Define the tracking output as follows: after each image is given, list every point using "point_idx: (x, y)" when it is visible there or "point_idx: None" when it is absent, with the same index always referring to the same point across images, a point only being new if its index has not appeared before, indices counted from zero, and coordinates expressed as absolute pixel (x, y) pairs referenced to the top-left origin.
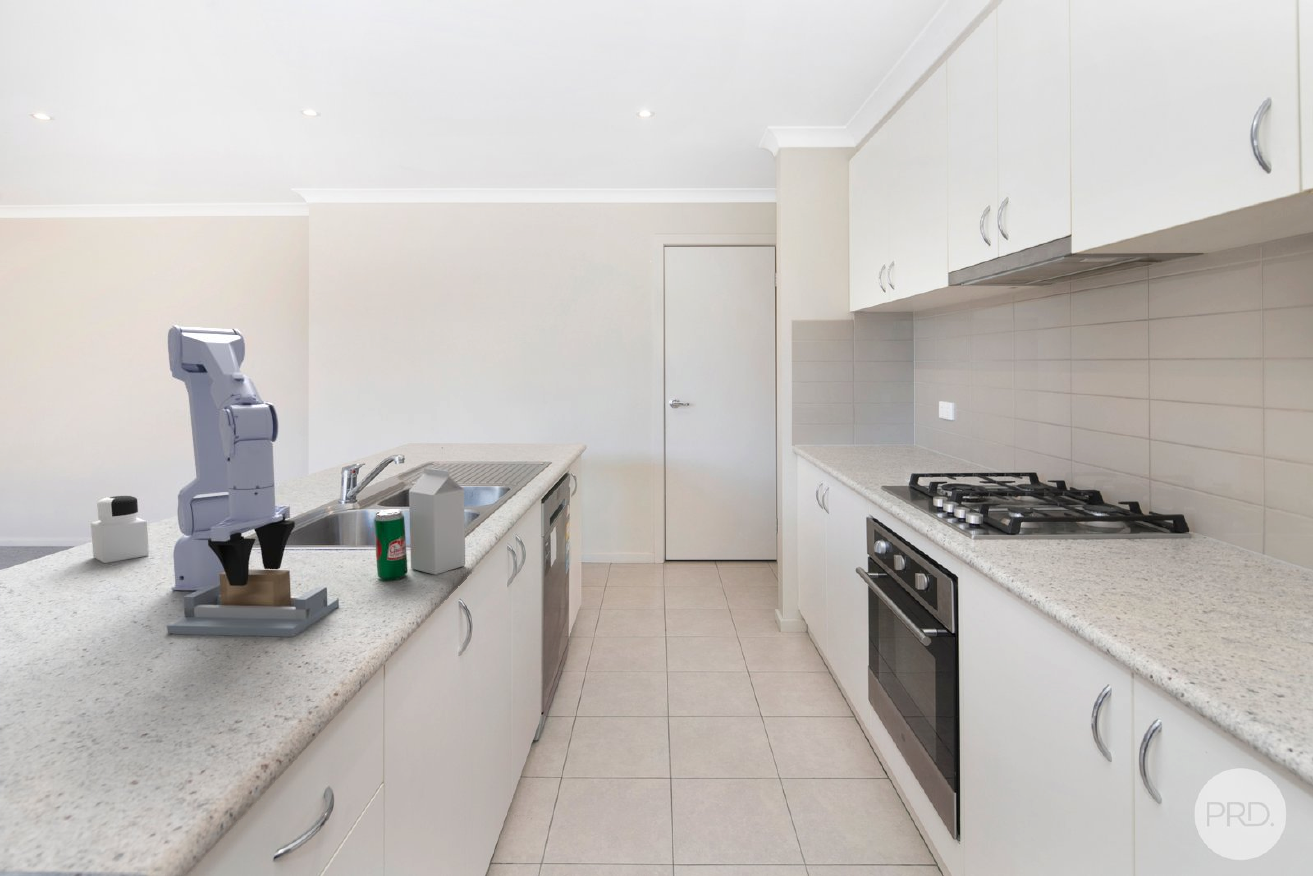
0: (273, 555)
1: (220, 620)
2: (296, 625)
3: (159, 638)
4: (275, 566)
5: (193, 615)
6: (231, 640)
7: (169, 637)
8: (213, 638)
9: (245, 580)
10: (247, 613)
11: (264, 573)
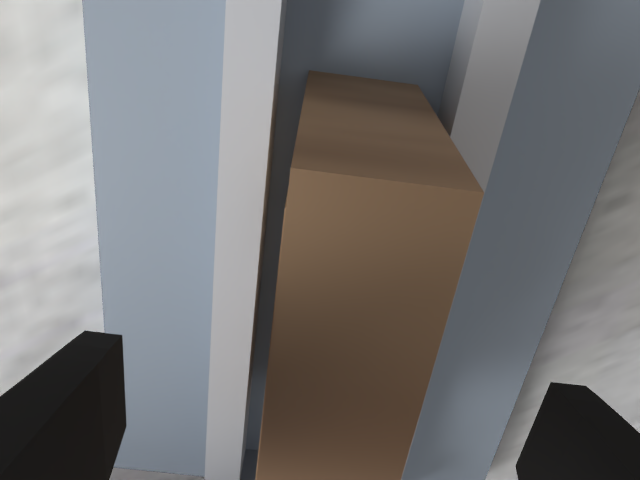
0: (59, 473)
1: (452, 357)
2: None
3: (508, 476)
4: (114, 367)
5: None
6: (620, 219)
7: (506, 453)
8: (565, 305)
9: (606, 409)
10: None
11: (389, 356)
